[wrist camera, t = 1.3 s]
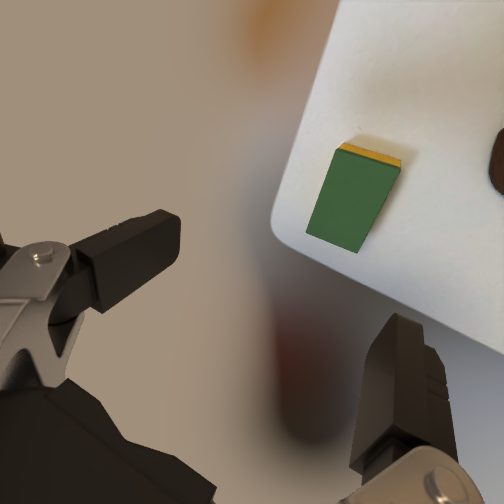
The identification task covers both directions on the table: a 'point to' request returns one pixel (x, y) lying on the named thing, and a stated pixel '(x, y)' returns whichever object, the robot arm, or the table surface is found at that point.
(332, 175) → the sponge
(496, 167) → the knife
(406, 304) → the table surface
